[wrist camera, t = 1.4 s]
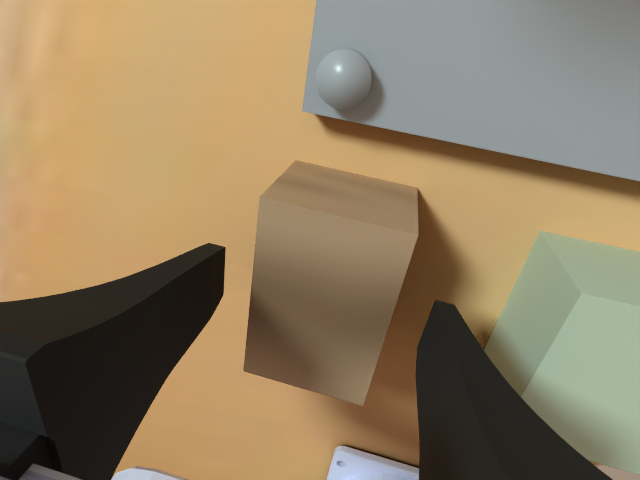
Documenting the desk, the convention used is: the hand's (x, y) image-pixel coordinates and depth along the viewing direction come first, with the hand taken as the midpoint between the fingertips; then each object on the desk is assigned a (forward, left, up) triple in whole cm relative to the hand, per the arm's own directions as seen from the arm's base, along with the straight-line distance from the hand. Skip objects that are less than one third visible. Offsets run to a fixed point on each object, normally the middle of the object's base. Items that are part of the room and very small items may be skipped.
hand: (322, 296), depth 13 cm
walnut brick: (0, 0, -3) cm, 3 cm away
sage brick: (0, -9, -3) cm, 10 cm away
